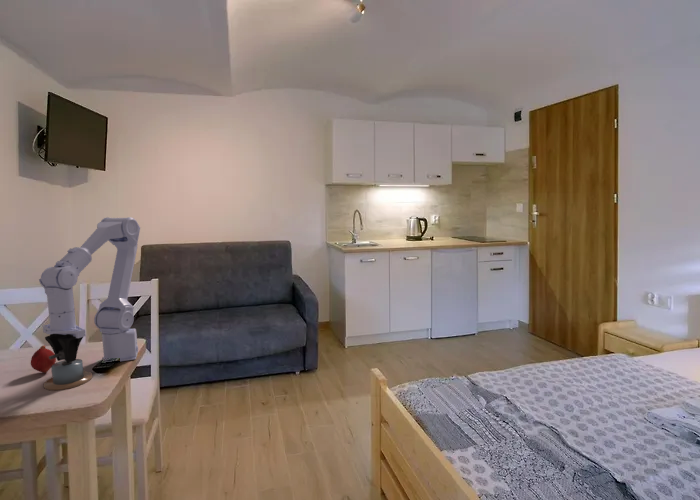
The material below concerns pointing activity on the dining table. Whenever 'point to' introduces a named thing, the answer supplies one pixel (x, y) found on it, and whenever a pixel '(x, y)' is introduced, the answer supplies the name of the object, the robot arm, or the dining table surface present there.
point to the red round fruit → (42, 360)
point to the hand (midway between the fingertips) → (66, 360)
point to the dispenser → (67, 375)
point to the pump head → (58, 355)
